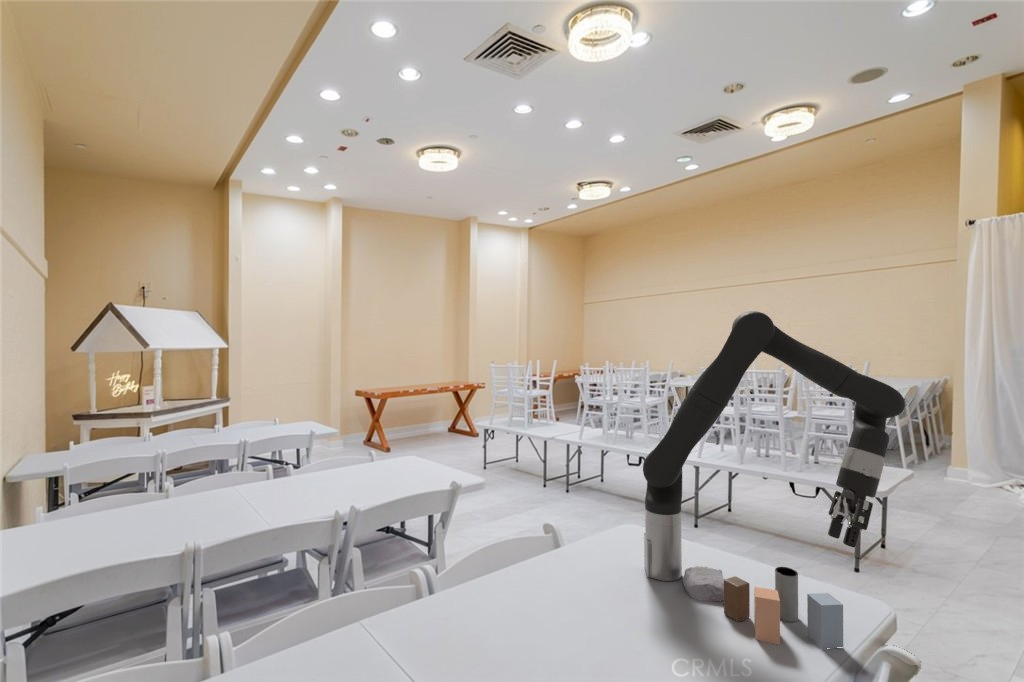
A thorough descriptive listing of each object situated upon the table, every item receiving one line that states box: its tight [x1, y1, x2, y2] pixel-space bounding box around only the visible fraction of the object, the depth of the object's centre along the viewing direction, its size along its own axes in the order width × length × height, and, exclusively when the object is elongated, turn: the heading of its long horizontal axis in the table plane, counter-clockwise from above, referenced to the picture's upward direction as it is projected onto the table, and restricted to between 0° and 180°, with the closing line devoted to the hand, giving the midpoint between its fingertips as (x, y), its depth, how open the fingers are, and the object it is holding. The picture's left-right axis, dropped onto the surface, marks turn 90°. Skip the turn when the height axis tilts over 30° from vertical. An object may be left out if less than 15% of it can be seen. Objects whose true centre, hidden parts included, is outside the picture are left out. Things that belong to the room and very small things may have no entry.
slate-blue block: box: [806, 592, 844, 650], centre depth 104 cm, size 4×4×9 cm
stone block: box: [682, 565, 726, 603], centre depth 126 cm, size 12×5×10 cm
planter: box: [774, 566, 799, 623], centre depth 113 cm, size 4×4×10 cm
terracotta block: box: [753, 586, 781, 645], centre depth 106 cm, size 4×4×9 cm
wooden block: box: [723, 576, 751, 623], centre depth 114 cm, size 4×4×8 cm
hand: (840, 541), depth 113 cm, fingers open, 8 cm apart
